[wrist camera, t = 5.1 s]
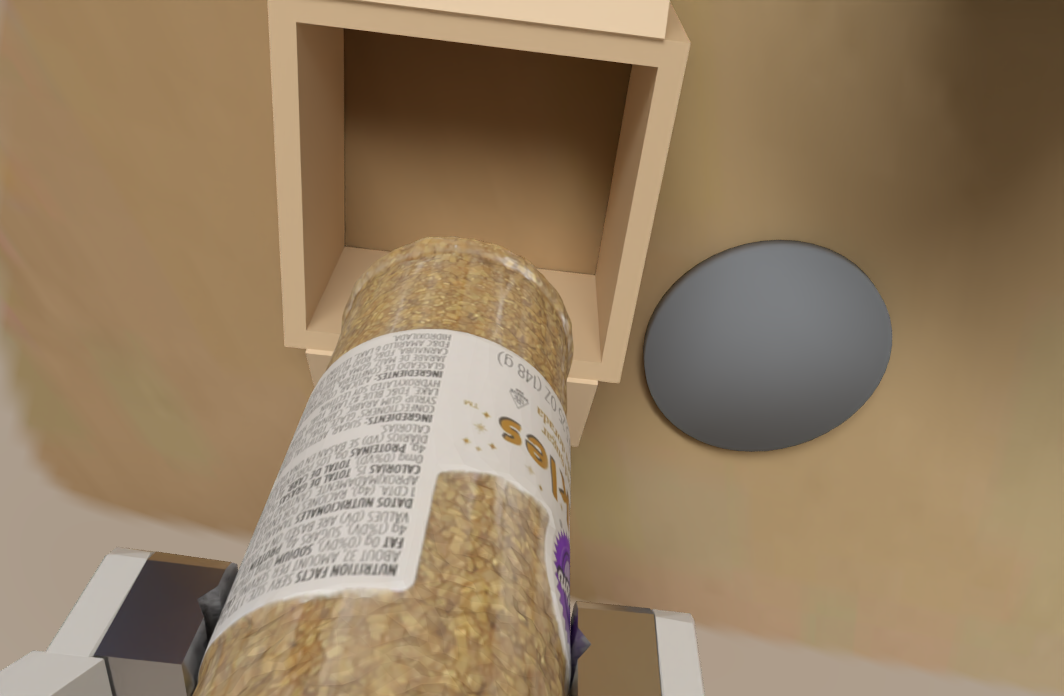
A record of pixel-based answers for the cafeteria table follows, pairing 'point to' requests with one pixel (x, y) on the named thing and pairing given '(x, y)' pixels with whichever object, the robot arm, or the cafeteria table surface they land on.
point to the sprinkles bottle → (418, 497)
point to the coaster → (767, 345)
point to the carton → (491, 20)
